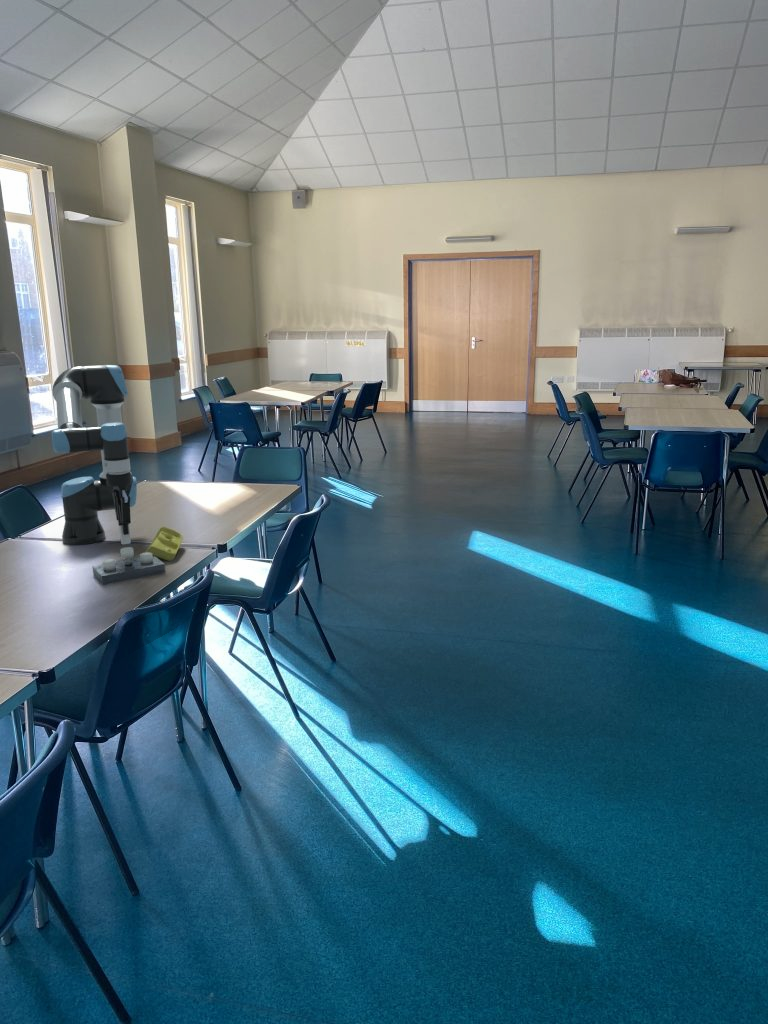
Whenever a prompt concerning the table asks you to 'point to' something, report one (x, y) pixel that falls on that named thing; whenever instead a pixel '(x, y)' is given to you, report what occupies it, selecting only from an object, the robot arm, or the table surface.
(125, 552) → the knob mid
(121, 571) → the mount
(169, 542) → the plastic component
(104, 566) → the knob
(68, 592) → the table surface
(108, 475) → the robot arm
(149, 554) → the knob
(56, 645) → the table surface
